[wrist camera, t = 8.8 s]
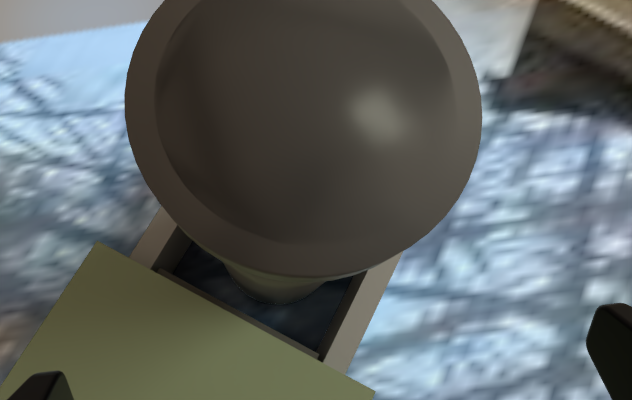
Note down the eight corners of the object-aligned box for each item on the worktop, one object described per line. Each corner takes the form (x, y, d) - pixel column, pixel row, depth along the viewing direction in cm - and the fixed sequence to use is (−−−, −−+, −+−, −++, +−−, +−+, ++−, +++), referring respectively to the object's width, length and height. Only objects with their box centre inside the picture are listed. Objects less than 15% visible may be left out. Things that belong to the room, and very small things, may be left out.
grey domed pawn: (305, 339, 20) (392, 345, 7) (189, 275, 20) (47, 159, 7) (363, 224, 22) (531, 41, 8) (254, 166, 22) (241, -108, 8)
